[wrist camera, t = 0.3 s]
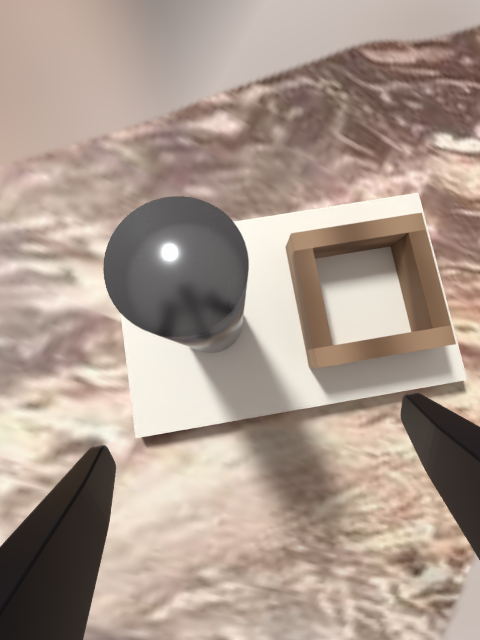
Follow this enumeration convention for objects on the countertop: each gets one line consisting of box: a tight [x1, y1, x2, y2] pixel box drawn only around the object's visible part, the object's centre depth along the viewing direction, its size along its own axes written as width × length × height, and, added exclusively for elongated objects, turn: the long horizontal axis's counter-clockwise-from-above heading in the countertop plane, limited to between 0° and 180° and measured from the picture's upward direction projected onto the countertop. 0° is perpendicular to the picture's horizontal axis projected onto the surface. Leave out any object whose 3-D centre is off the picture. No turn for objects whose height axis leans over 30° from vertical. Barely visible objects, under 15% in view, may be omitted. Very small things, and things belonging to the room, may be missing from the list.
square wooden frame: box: [285, 213, 456, 368], centre depth 22 cm, size 9×9×2 cm
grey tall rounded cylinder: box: [104, 197, 249, 353], centre depth 16 cm, size 4×4×13 cm
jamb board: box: [121, 193, 467, 438], centre depth 23 cm, size 23×14×1 cm, turn 100°
